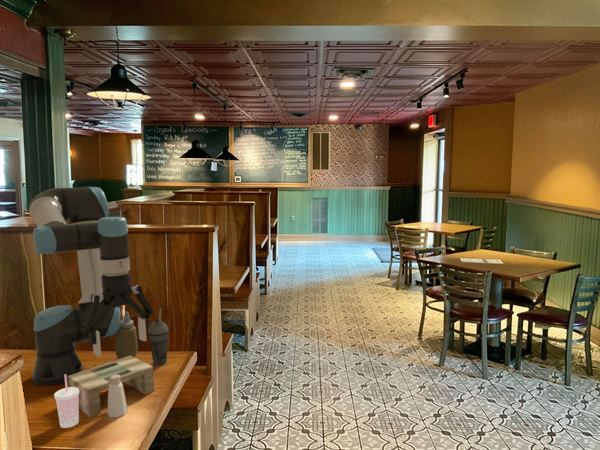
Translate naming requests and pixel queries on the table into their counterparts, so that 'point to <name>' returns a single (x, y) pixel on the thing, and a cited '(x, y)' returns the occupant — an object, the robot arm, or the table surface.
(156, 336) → the beverage cup
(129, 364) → the cut-out shelf
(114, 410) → the pepper shaker
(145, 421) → the table surface
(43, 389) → the table surface
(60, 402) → the beverage cup
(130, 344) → the squeeze bottle
